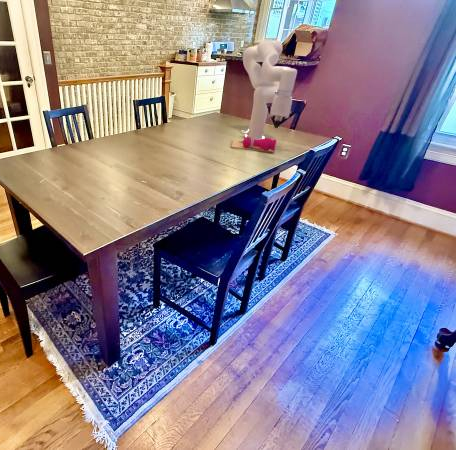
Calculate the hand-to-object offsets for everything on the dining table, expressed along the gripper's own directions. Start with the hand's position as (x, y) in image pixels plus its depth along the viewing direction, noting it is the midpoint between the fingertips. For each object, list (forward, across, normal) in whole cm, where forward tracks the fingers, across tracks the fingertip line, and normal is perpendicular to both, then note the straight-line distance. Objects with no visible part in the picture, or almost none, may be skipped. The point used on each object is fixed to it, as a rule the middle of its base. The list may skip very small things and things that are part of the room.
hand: (276, 127), depth 176 cm
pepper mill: (+8, +2, -7) cm, 11 cm away
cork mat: (+13, -11, 0) cm, 17 cm away
